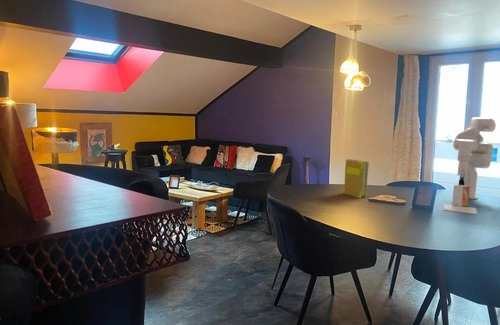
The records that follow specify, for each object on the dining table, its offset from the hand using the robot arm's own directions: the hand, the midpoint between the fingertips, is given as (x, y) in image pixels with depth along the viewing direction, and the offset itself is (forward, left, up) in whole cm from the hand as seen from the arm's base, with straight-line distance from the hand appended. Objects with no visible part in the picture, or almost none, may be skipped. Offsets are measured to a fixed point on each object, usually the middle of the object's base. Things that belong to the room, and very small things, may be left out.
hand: (461, 185), depth 257 cm
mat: (+21, 0, -12) cm, 24 cm away
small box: (+9, 0, -12) cm, 15 cm away
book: (+16, -67, -12) cm, 70 cm away
